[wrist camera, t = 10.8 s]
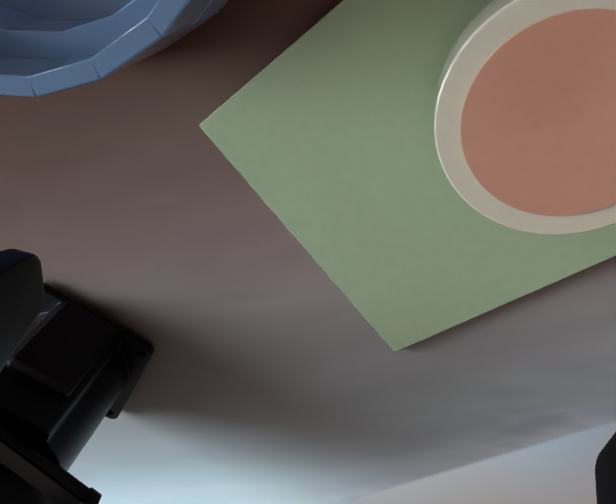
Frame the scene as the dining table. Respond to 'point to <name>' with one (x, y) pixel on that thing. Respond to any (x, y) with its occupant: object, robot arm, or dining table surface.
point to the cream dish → (533, 115)
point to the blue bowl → (86, 38)
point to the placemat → (384, 172)
